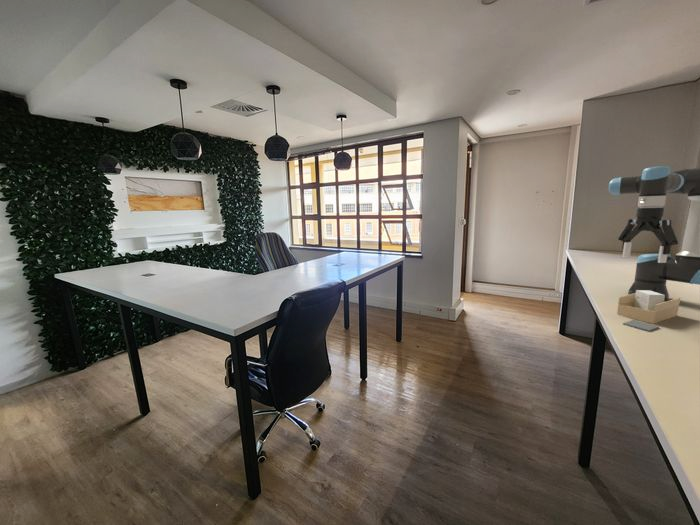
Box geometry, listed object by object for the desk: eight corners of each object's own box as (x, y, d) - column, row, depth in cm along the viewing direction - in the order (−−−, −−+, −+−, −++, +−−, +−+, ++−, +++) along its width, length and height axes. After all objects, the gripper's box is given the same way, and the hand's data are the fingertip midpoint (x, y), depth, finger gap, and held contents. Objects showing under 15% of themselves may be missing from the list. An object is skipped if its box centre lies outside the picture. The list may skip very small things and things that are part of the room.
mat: (633, 321, 122) (633, 320, 122) (659, 328, 114) (659, 326, 114) (622, 324, 119) (622, 323, 118) (648, 331, 111) (649, 330, 111)
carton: (640, 307, 138) (643, 291, 136) (677, 315, 127) (680, 297, 125) (616, 314, 130) (619, 297, 128) (653, 324, 118) (656, 304, 117)
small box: (661, 318, 124) (665, 295, 122) (646, 318, 125) (650, 294, 123) (647, 312, 131) (650, 290, 130) (632, 312, 133) (635, 289, 131)
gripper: (611, 208, 127) (605, 255, 131) (679, 206, 103) (670, 265, 106) (627, 207, 128) (620, 255, 132) (698, 206, 103) (688, 264, 107)
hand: (642, 259), depth 119 cm, fingers open, 13 cm apart
